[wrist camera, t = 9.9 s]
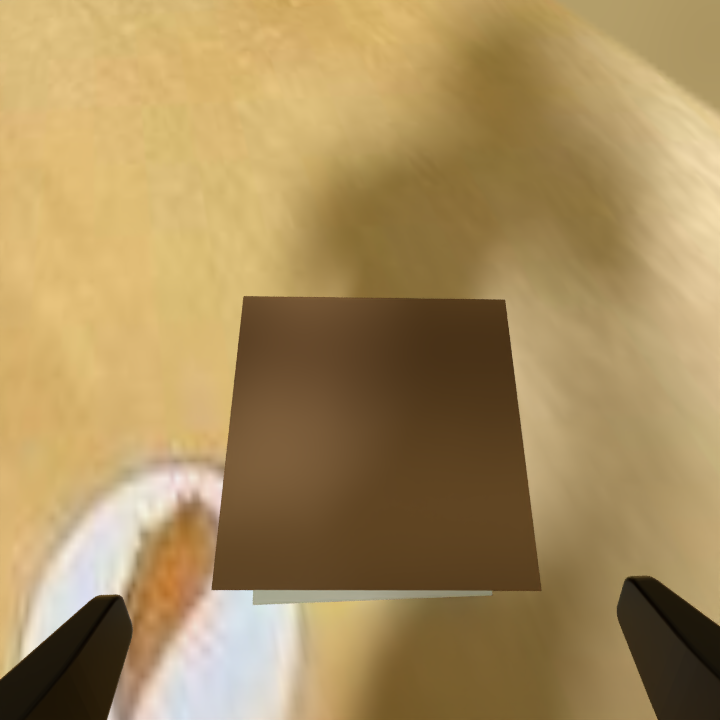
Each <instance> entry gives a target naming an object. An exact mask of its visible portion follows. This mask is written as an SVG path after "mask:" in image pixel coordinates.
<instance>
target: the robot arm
mask: <svg viewBox="0 0 720 720" xmlns="http://www.w3.org/2000/svg"><path fill="white" fill-rule="evenodd" d="M617 617H618V621H619V624H620V626H621V629H622V631H623V634H624V636H625V639H626V641H627V644H628V646H629V649H630V651H631V654H632V656H633V659H634V662H635V664H636V667H637V669H638V672H639V674H640V677H641V679H642V682H643V684H644V687H645V689H646V692H647V694H648V697H649V699H650V702H651V704H652V707H653V709H654V712H655V714H656V716H657V719H658V720H720V626H719V625H717V624H716V623H715V622H713V621H712V620H711V619H709V618H708V617H707V616H705V615H704V614H703V613H701V612H700V611H699V610H697V609H696V608H695V607H693V606H692V605H690V604H689V603H688V602H686V601H685V600H684V599H682V598H681V597H680V596H678V595H677V594H676V593H674V592H673V591H672V590H670V589H669V588H667V587H666V586H665V585H663V584H662V583H661V582H659V581H658V580H657V579H655V578H653V577H650V576H630V577H627V578H626V579H625V581H624V584H623V587H622V591H621V594H620V598H619V601H618V605H617ZM132 632H133V628H132V622H131V619H130V617H129V614H128V611H127V608H126V605H125V603H124V600H123V598H122V597H121V596H120V595H99V596H96V597H95V598H93V599H92V600H90V601H89V602H88V603H87V604H86V605H85V606H83V607H82V608H81V609H80V610H79V611H78V612H77V613H75V614H74V615H73V616H72V617H71V618H70V619H69V620H67V621H66V622H65V623H64V624H63V625H62V626H61V627H59V628H58V629H57V630H56V631H55V632H54V633H53V634H51V635H50V636H49V637H48V638H47V639H46V640H45V641H43V642H42V643H41V644H40V645H39V646H38V647H37V648H36V649H34V650H33V651H32V652H31V653H30V654H29V655H28V656H26V657H25V658H24V659H23V660H22V661H21V662H20V663H18V664H17V665H16V666H15V667H14V668H13V669H12V670H10V671H9V672H8V673H7V674H6V675H5V676H4V677H2V678H1V679H0V720H107V718H108V715H109V712H110V708H111V705H112V702H113V698H114V695H115V692H116V689H117V685H118V682H119V679H120V675H121V672H122V669H123V665H124V662H125V659H126V655H127V652H128V649H129V645H130V642H131V638H132Z"/></svg>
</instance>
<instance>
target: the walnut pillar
mask: <svg viewBox="0 0 720 720" xmlns="http://www.w3.org/2000/svg"><path fill="white" fill-rule="evenodd" d="M212 590H440V591H541V583H540V575H539V567H538V559H537V551H536V543H535V535H534V527H533V519H532V511H531V503H530V495H529V487H528V479H527V471H526V463H525V455H524V447H523V439H522V431H521V423H520V415H519V407H518V399H517V391H516V383H515V375H514V367H513V359H512V351H511V343H510V335H509V327H508V319H507V311H506V303H505V300H488V299H412V298H335V297H259V296H244V297H243V306H242V315H241V324H240V334H239V343H238V352H237V361H236V370H235V380H234V389H233V398H232V407H231V416H230V425H229V435H228V444H227V453H226V462H225V471H224V480H223V490H222V499H221V508H220V517H219V526H218V535H217V545H216V554H215V563H214V572H213V581H212Z"/></svg>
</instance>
